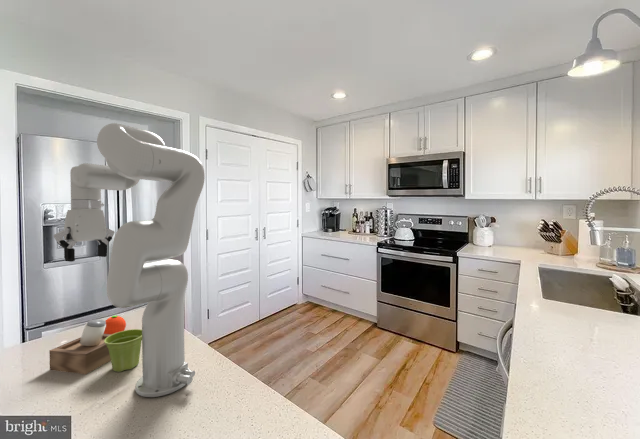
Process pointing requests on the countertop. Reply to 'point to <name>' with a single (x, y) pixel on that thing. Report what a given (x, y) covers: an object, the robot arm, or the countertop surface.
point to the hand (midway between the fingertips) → (87, 258)
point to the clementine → (114, 325)
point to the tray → (79, 357)
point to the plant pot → (124, 349)
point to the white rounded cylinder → (93, 332)
